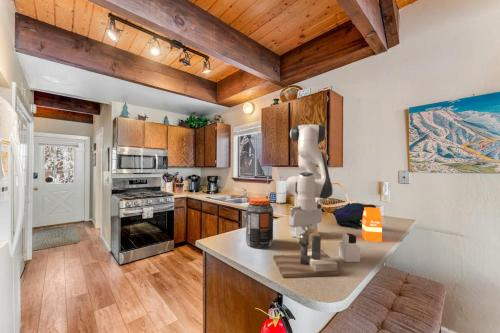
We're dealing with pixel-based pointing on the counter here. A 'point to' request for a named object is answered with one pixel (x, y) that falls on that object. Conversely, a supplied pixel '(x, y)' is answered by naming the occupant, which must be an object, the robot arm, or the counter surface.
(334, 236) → the counter surface
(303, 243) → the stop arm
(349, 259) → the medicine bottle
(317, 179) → the robot arm
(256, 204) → the supplement tub
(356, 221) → the navy cloth bag
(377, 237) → the orange juice
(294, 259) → the lock plate
